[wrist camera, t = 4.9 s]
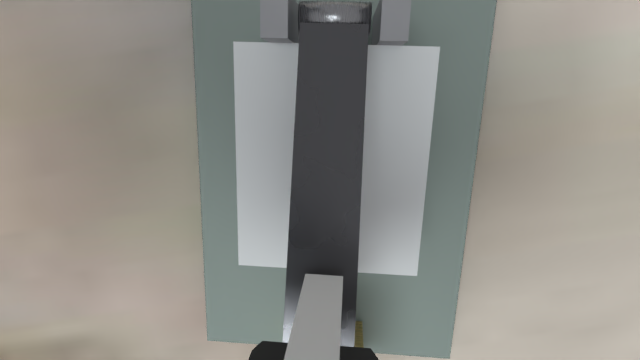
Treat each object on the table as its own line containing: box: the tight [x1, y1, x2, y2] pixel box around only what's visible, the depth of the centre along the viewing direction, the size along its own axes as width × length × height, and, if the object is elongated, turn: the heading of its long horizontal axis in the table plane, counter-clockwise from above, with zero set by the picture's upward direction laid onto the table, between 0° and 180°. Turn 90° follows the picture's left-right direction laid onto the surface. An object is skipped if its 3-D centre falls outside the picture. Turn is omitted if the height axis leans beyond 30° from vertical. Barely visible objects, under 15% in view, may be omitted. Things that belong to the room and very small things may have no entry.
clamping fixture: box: [191, 0, 497, 359], centre depth 22 cm, size 29×18×8 cm, turn 178°
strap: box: [283, 1, 372, 347], centre depth 17 cm, size 15×3×1 cm, turn 178°
